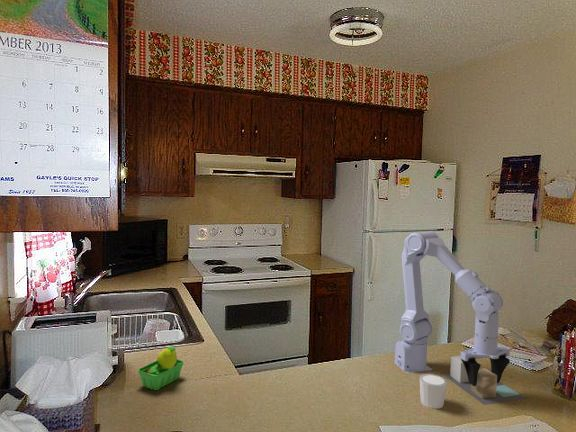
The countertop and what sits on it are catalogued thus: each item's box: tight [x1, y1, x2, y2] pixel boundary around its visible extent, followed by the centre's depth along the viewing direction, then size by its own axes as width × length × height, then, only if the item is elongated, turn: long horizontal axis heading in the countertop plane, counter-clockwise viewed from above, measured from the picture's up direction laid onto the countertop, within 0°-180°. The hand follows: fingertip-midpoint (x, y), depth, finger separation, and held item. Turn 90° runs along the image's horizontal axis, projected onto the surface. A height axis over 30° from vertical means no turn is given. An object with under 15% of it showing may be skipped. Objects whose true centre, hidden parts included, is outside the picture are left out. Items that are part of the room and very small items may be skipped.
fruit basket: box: [137, 345, 185, 391], centre depth 114 cm, size 11×9×11 cm
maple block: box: [471, 367, 497, 399], centre depth 110 cm, size 4×4×6 cm
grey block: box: [449, 355, 469, 383], centre depth 118 cm, size 4×4×6 cm
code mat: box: [441, 372, 528, 406], centre depth 115 cm, size 14×18×1 cm
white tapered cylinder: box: [419, 373, 448, 410], centre depth 105 cm, size 7×7×7 cm
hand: (484, 382), depth 110 cm, fingers open, 7 cm apart
